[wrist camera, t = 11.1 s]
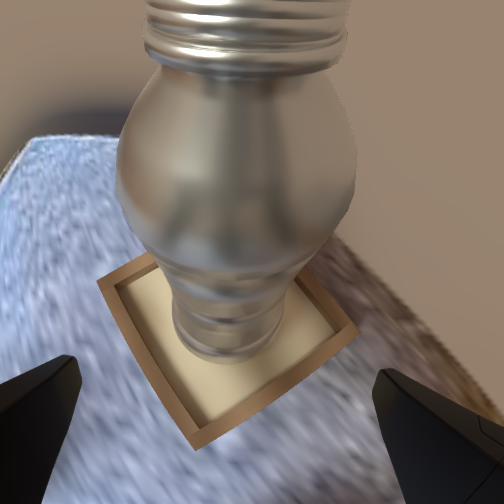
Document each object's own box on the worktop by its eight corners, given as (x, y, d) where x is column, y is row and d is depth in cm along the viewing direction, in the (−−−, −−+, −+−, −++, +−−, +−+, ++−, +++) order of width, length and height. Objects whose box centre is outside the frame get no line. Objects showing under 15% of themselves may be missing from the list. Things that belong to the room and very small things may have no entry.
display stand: (199, 446, 18) (195, 451, 16) (109, 296, 23) (96, 280, 20) (345, 343, 23) (360, 332, 20) (246, 219, 27) (249, 197, 25)
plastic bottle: (158, 322, 21) (9, -4, 3) (228, 259, 23) (248, -61, 6) (227, 391, 19) (264, 53, 1) (297, 318, 21) (469, 11, 4)
